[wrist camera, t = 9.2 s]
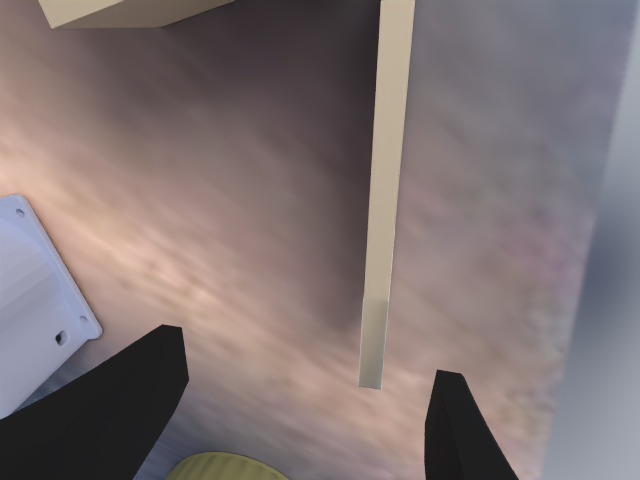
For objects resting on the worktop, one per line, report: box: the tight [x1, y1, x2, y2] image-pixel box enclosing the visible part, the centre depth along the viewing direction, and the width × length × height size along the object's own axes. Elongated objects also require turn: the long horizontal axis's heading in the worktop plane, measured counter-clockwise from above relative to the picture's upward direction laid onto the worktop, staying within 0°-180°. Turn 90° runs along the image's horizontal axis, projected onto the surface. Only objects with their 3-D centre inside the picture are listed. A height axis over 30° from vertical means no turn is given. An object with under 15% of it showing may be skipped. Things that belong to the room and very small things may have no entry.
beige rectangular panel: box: [358, 0, 415, 390], centre depth 15 cm, size 1×14×6 cm, turn 0°
